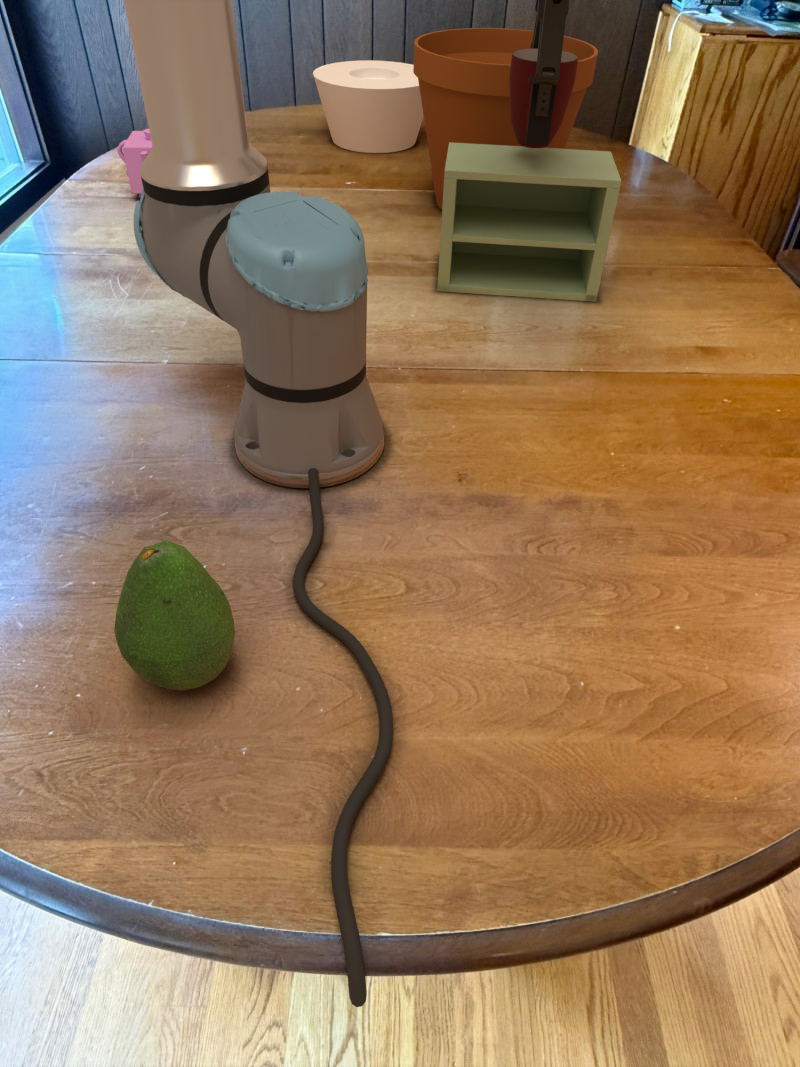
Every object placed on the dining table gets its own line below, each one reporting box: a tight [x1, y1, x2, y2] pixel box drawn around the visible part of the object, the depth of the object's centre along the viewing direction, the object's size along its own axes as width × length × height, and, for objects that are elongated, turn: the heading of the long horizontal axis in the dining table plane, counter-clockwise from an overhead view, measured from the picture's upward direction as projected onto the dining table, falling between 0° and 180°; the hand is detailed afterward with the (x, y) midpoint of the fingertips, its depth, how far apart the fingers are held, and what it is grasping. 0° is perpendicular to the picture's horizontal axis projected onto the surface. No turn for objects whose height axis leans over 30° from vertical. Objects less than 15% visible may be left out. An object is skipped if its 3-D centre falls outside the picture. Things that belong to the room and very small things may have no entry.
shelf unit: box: [436, 142, 622, 303], centre depth 106 cm, size 12×22×16 cm, turn 85°
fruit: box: [113, 539, 236, 691], centre depth 54 cm, size 8×8×12 cm
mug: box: [509, 49, 578, 148], centre depth 96 cm, size 10×8×10 cm
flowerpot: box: [413, 27, 599, 210], centre depth 126 cm, size 28×28×24 cm
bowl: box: [312, 59, 424, 154], centre depth 156 cm, size 24×24×12 cm
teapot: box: [117, 128, 152, 199], centre depth 130 cm, size 18×13×10 cm
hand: (534, 130), depth 99 cm, fingers closed on mug, 10 cm apart
